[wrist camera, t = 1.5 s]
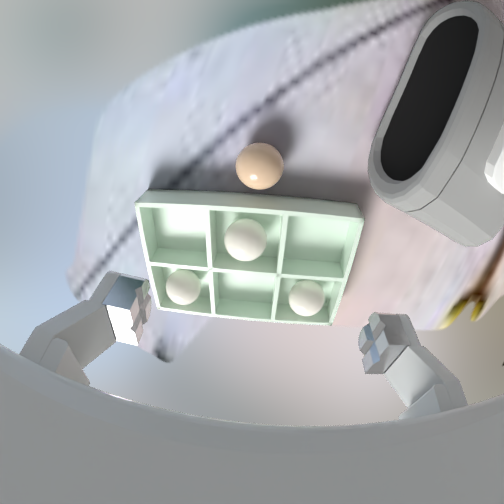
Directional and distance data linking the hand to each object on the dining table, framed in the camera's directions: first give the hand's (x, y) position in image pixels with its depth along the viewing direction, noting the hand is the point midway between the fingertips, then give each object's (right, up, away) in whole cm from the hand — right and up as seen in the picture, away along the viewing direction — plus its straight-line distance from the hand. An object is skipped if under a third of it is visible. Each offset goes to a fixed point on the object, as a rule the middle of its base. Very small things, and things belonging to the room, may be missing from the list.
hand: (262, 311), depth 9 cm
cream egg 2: (-1, +4, +21) cm, 21 cm away
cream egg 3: (+6, -2, +25) cm, 26 cm away
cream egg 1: (-9, -1, +26) cm, 27 cm away
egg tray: (-1, +2, +24) cm, 24 cm away
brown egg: (+1, +11, +17) cm, 20 cm away
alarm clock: (+18, +17, +11) cm, 27 cm away
